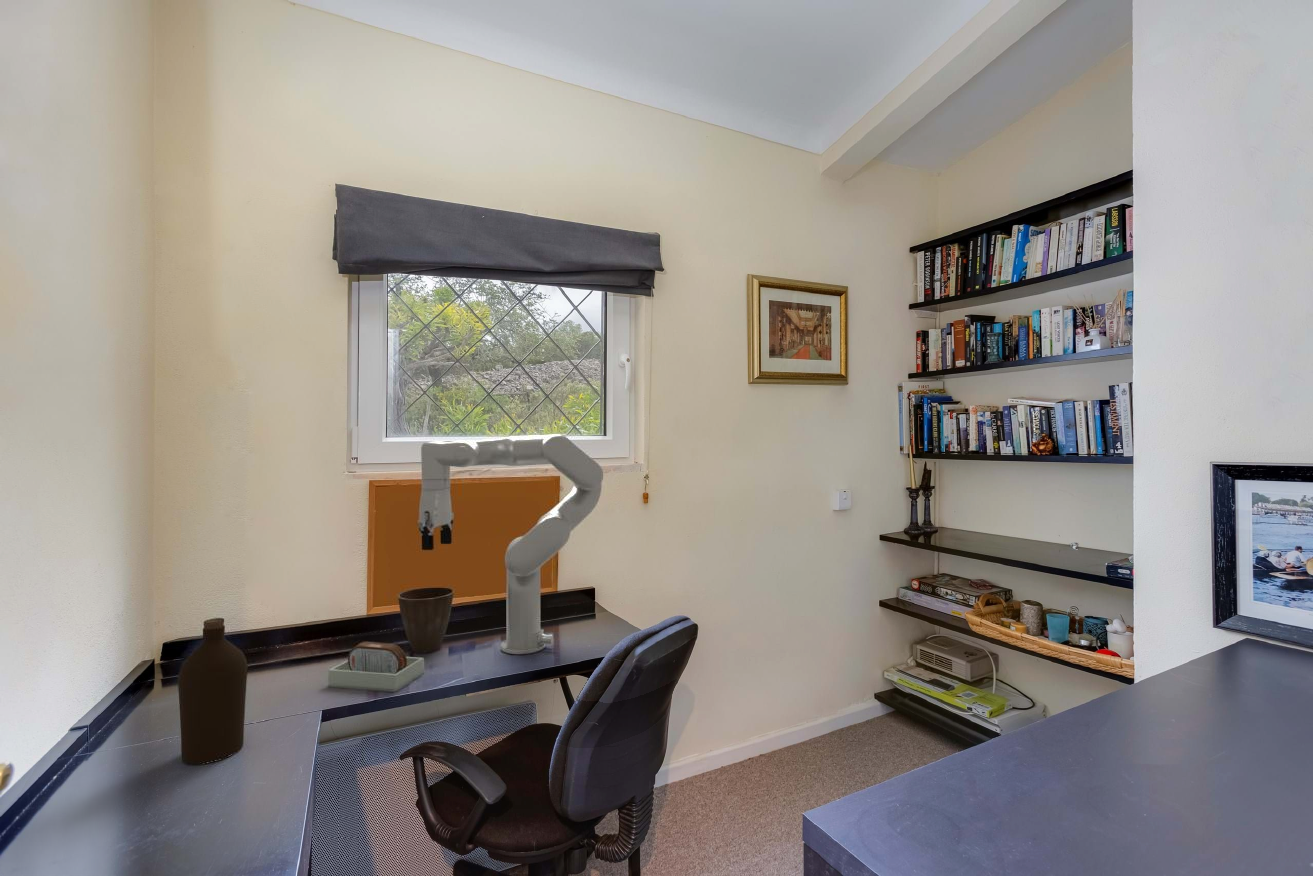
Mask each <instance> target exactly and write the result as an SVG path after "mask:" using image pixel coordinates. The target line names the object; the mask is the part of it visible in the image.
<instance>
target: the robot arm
mask: <svg viewBox="0 0 1313 876" xmlns="http://www.w3.org/2000/svg"><path fill="white" fill-rule="evenodd" d="M420 449H421V450H420V455H421V456H420V457H421V461H420V462H421V493H420V499H419V508H418V509H419V510H418V511H419V513H418V520H417V524H418V530H419V532H420V536H421V550H422V551H433V550H434V549H435V547H434V546H435V545H434V543H435V542H434V537H435V535H434V534H433V532H434V530H435V528H441V529H440V531H439V533H440V544H441V545H451V544H452V542H453V540H452V539H453V536H452V535H453V534H452V533H453V531H452V530H453V523H454V516H455V513H454V512H453V510H452V497H451V492H450V491H451V467H456V468H467V467H473V466H475V467H476V466H492V465H493V466H494V465H495V466H496V465H497V466H498V465H500V466H508V467H517V466H518V467H519V466H537V465H552V466H553V467H554V468H555V469H556V470H558V472H560V473H561V474H562V475H564V476H565V477H566V478H567V479H569V480H570V482H572V483H573V487H572V489H571V490H570V492H569V493H568V494H567V495H566V496H565V497H564V498H563V499H562V500H561V501H560V502H559V503H557V504H556V505H555V506H554V507H553V508H551V509H550V510H549V511H548V512H546V513H545V514H543V515H541V517H540V518H539V519H538V521H537V523H536V524H535V525H534V526H533V527H532V528H531V529H530V530H529V531H528V532H526V533H525V534H524V535H521V536H519V537H516V538H515V539H513V540H511V542H510V543H509V545H508V546H507V548H506V552H505V555H504V563H505V567H506V600H505V601H506V603H505V604H506V605H505V606H506V609H505V610H506V619H505V620H506V640H504V641H503V642H502V643H501V644H500V650H501V651H502V652H504V653H506V654H509V655H510V654H511V655H525V654H526V655H527V654H533V653H537V652H539V651H541V650H544V648H546V646H547V645H553V644H554V641H555V639H554V637H553V634H545V633H544V628H543V629H541V567H542V566H543V565H544V564H546V563H547V562H549V560H550V559H551V558H552V557H554V556H555V555H556V554H557V553H558V552H559V551H560V550H562V548H563V547H564V546H565V545H566V544H567V543H568V541H569V539H570V537H571V533H572V531H574V529H575V528H576V527H578V526H579V525H580V523H582V522H583V521H584V520H585V519H586V518H587V517H588V516H589V515H590V514H591V513H592V512H593V510H594V509H595V507H596V506H597V504H598V502H599V501H600V498H601V493H602V487H603V486H602V482H603V480H604V471H603V468H602V467H601V465H600V464H599V463H598V462H596V460H594V459H593V458H592V457H590V456H589V455H588V454H586V452H584V451H583V450H581V448H579V447H578V446H577V445H576V444H575V443H573V442H572V441H571V439H569V438H568V437H567V436H566V435H563V434H559V433H558V434H556V433H555V434H544V435H542V434H541V435H519V436H518V435H516V436H508V437H504V438H498V439H481V440H480V439H479V440H475V439H474V440H466V439H464V440H463V439H462V440H456V441H451V442H450V441H449V442H447V441H425V442H423V443H422V444H421V447H420Z"/></svg>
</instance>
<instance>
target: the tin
mask: <svg viewBox="0 0 1313 876" xmlns="http://www.w3.org/2000/svg"><path fill="white" fill-rule="evenodd" d="M406 657H407V656H406V653H405V651H404V650H403V649H402V647H400V646H399V645H396V644H395V643H386V642H374V641H362V642H359V643H358V644H357V645H356V646H354V647H353V648H352V649H351V650H350V651H349V653H348V655H347V660H348V664H349V668H350V670H351V671H362V672H375V673H389V674H396V673H398V672H399V671H401V670H403V669H404V668H406V665H407V659H406Z"/></svg>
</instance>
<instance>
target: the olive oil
mask: <svg viewBox="0 0 1313 876" xmlns="http://www.w3.org/2000/svg"><path fill="white" fill-rule="evenodd" d="M224 624H225V618H224V617H223V618H222V617H215V618H210V619H206V620H205V621H204V620H203V628H202V641H201V643H200V644H199V645H198V646H197V647H196V648H195V649H194V651H192V652H191V653H190V654H189V655H188V656H187V657H186V659H185V660H184V661H183V662H182V664H181V666H180V669H179V672H178V675H177V688H178V689H177V690H178V702H179V706H178V707H179V720H180V721H179V724H180V746H181V747H180V748H181V749H180V753H181V755H180V756H181V762H182V763H184V764H185V763H186V765H189V764H192V765H193V766H198V765H197V764H201V765H204V764H203V763H207V762H211V761H215V760H219V759H222V760H224V759H223V758H225V757H227V758H229V757H230V756H229V755H231V754H233V753H235V752H236V753H238V752H239V751H240V750H241V749H242V748H243V745H244V732H245V731H244V730H245V713H246V711H245V710H246V696H247V682H248V672H249V667H248V661H247V658H246V655H245V653H244V651H242V650H241V649H240V648H239V647H237V646H235V644H233V643H231V642H230V641H229V640H227V638H226V637H225V633H226V632H225V631H226V630H225V629H226V626H225V625H224ZM241 747H242V748H241ZM239 749H240V750H239ZM238 750H239V751H238ZM237 751H238V752H237ZM236 753H235V754H236ZM233 755H234V754H233ZM228 756H229V757H228ZM231 756H232V755H231ZM225 759H226V758H225ZM219 761H220V760H219ZM207 764H208V763H207Z"/></svg>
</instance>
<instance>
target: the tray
mask: <svg viewBox="0 0 1313 876" xmlns="http://www.w3.org/2000/svg"><path fill="white" fill-rule="evenodd" d="M406 659H407V665H406V668H404V669H403V670H401V671H399V672H398V673H396V674H389V673H375V672H362V671H351V670H350V668H349V664H348V659H347V660H345V661H343V662H341V663H339V664H337V665H335V666H333V667H332V668H329V669H328V673H327V674H328V675H327V676H328V684H327V685H328V687H329V688H339V689H340V688H341V689H350V690H351V689H354V690H363V691H364V690H365V691H366V690H367V691H374V692H375V691H376V692H390V693H397V692H398V691H400V690H402V689H403V688H404V687H406V686H408V685H409V684H411V683H412V682H414V681H415V680H416V679H418V678H420V677H422V676H423V675H424V674H425V657H418V656H417V657H416V656H414V657H413V656H406Z"/></svg>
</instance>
